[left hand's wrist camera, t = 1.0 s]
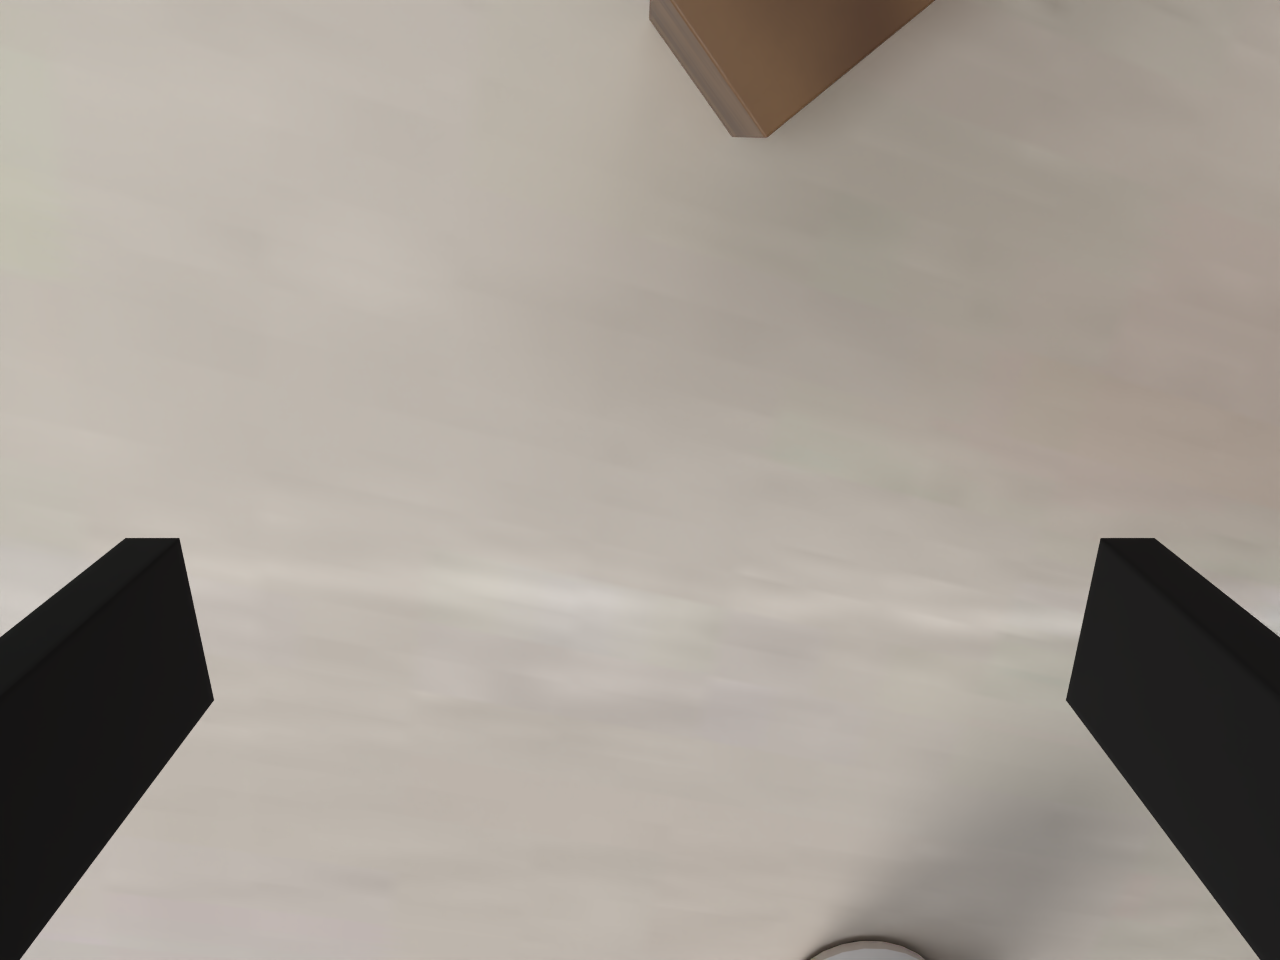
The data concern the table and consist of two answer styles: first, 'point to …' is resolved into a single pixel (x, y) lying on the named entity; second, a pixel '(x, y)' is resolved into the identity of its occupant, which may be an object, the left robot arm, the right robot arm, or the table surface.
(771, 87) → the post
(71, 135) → the table surface
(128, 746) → the left robot arm
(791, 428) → the table surface
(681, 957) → the table surface
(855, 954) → the mug
